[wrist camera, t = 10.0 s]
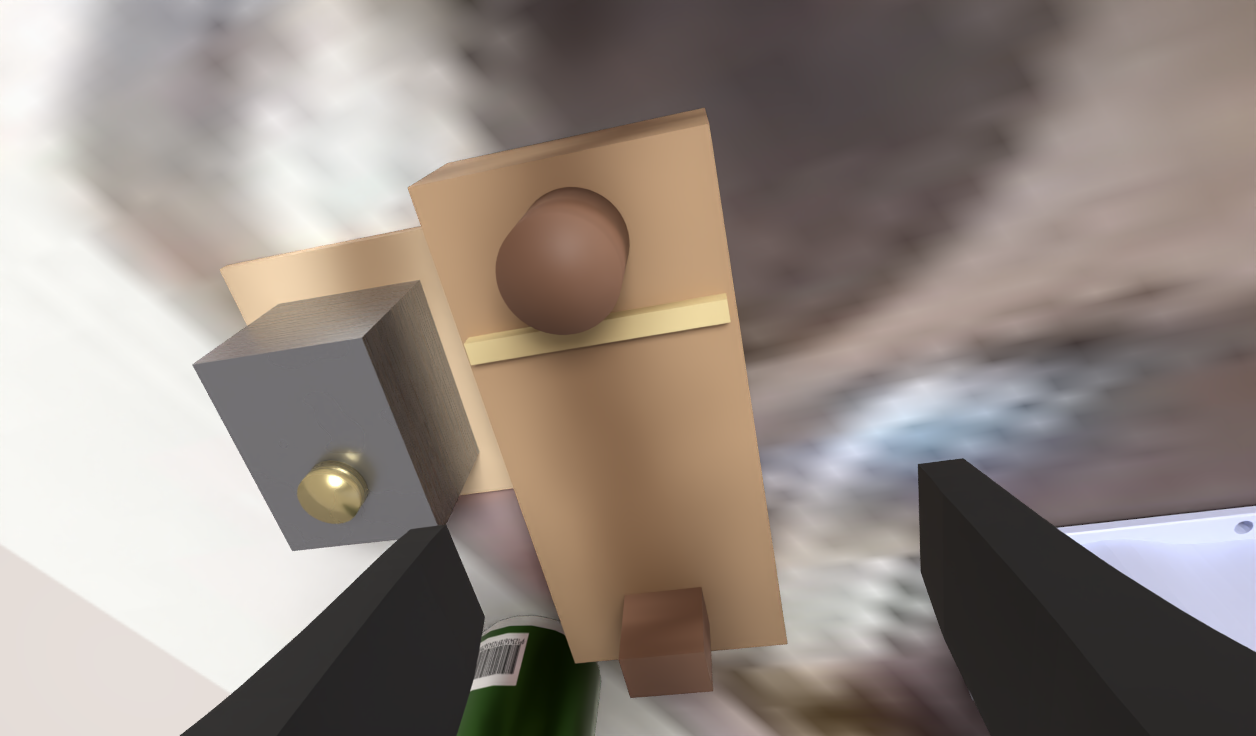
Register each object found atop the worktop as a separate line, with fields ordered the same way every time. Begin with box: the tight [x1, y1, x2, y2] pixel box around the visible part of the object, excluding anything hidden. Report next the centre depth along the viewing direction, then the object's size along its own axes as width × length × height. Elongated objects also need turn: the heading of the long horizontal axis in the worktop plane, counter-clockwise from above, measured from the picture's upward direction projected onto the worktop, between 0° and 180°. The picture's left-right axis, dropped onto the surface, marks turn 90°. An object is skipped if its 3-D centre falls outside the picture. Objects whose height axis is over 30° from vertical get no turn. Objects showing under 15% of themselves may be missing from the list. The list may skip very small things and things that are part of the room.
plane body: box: [408, 108, 787, 698], centre depth 19 cm, size 7×16×5 cm, turn 12°
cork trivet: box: [220, 226, 513, 495], centre depth 21 cm, size 7×9×1 cm
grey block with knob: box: [193, 280, 479, 551], centre depth 19 cm, size 4×6×5 cm
